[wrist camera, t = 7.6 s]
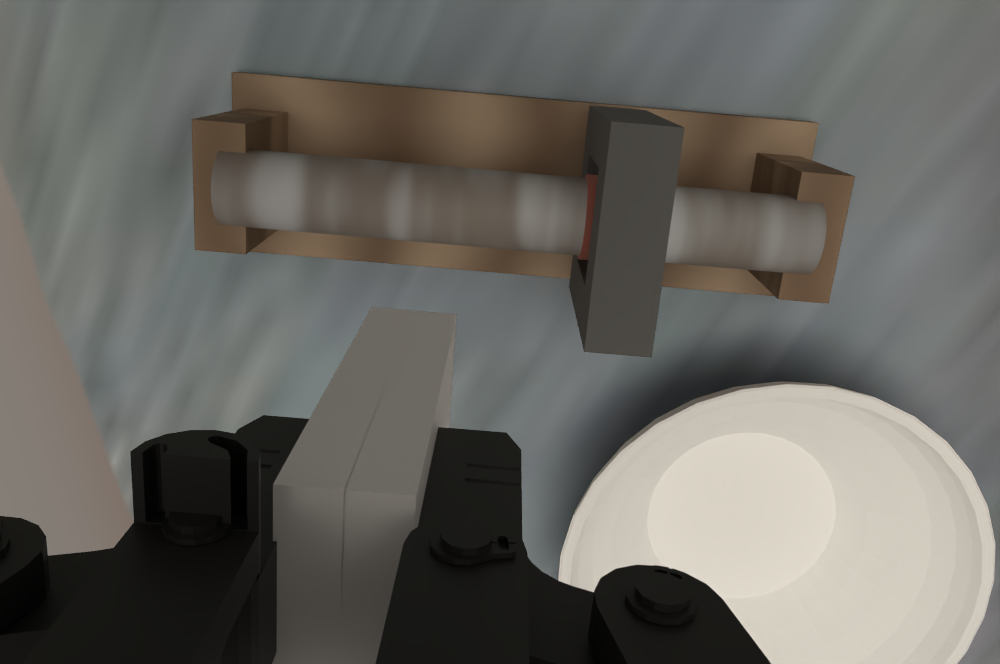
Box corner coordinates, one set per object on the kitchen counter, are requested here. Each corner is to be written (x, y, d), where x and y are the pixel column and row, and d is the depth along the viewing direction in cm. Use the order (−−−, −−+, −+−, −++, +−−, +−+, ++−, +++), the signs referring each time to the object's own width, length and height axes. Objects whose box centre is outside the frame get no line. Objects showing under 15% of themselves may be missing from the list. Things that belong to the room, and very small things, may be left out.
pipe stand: (239, 245, 42) (172, 293, 34) (238, 71, 39) (165, 77, 31) (779, 291, 42) (843, 349, 34) (811, 121, 40) (889, 139, 31)
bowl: (592, 694, 50) (604, 792, 43) (513, 381, 44) (513, 438, 37) (942, 630, 48) (1010, 721, 41) (908, 294, 42) (980, 339, 36)
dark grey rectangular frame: (569, 286, 40) (584, 351, 31) (589, 105, 37) (611, 121, 29) (621, 290, 40) (651, 357, 31) (645, 110, 37) (684, 127, 29)
